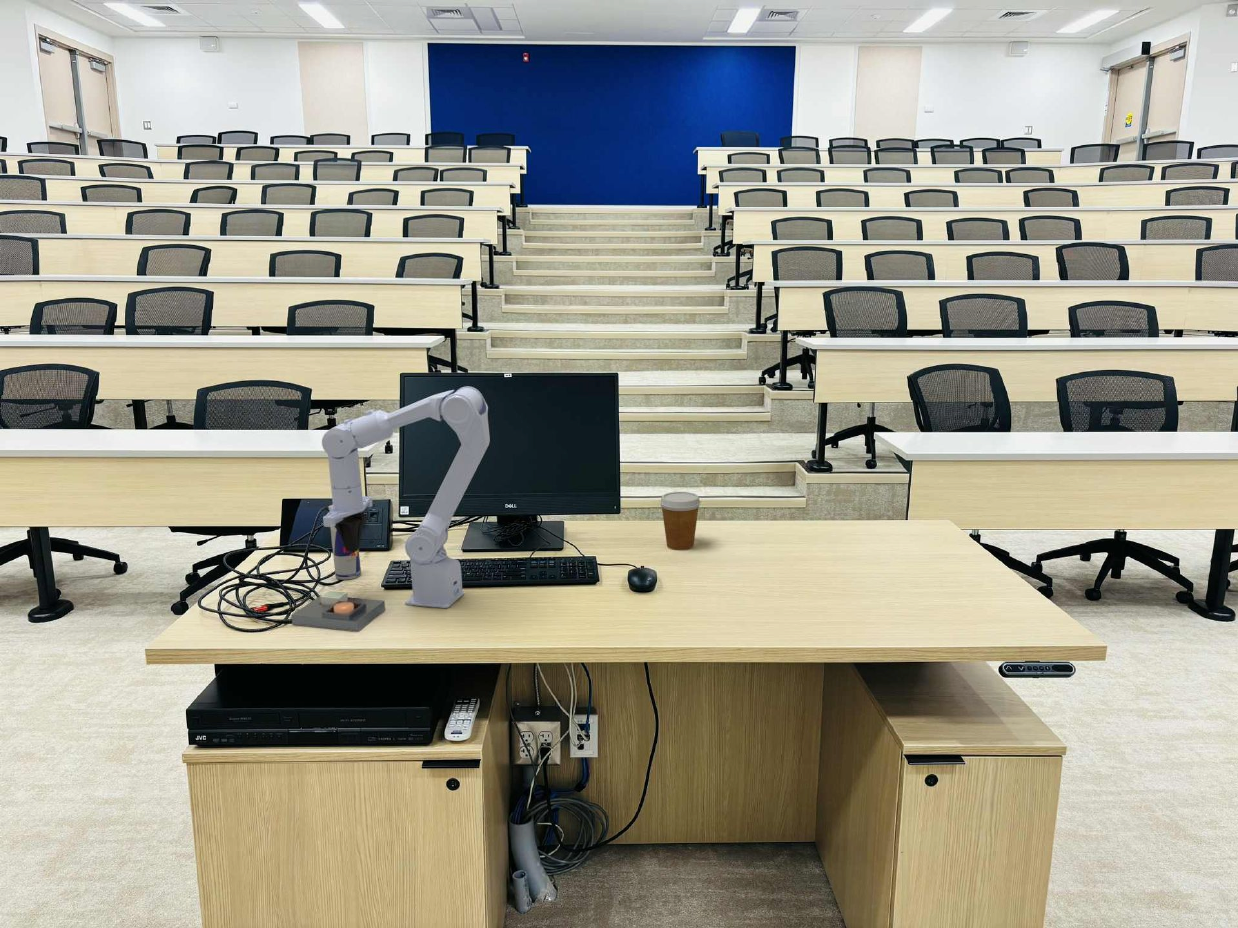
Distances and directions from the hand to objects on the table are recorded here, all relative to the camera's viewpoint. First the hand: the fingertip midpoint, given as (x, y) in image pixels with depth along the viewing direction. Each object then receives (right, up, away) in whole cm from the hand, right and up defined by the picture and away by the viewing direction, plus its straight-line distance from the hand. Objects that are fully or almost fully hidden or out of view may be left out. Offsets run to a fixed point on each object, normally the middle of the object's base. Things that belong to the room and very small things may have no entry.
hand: (352, 550), depth 173 cm
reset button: (+1, -12, -9) cm, 15 cm away
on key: (-2, -11, -3) cm, 12 cm away
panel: (-1, -12, -6) cm, 14 cm away
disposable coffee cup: (+68, -2, +30) cm, 74 cm away
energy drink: (-6, -7, +15) cm, 18 cm away
